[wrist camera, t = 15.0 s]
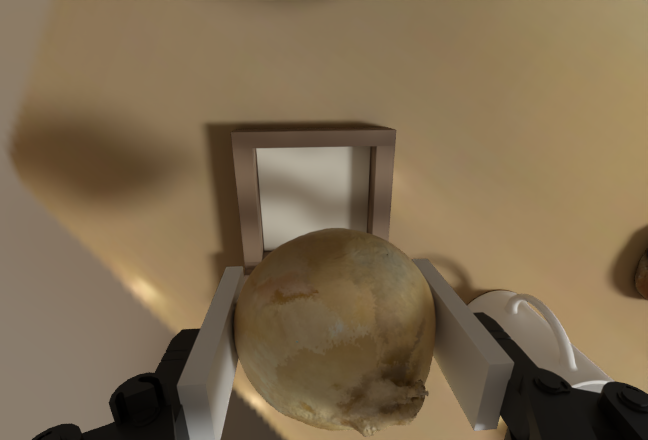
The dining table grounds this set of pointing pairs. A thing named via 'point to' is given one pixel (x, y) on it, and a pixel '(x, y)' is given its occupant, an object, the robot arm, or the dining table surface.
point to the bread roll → (642, 276)
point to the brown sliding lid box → (310, 184)
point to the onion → (338, 331)
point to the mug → (541, 337)
